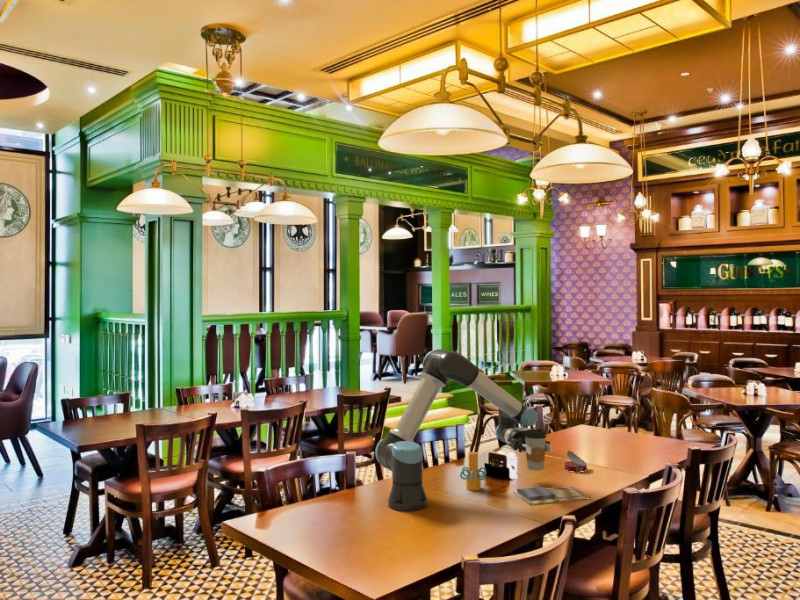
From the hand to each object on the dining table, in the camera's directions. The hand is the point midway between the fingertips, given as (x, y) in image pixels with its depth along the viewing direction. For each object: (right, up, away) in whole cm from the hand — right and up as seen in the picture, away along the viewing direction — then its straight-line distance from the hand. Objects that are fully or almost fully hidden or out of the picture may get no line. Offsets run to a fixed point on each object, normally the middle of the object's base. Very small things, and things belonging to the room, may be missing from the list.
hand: (540, 450), depth 251 cm
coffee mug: (+11, -21, +91) cm, 94 cm away
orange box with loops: (-24, -20, +17) cm, 36 cm away
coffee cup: (-1, -9, +4) cm, 10 cm away
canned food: (+26, -20, +45) cm, 56 cm away
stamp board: (+5, -20, +6) cm, 21 cm away
